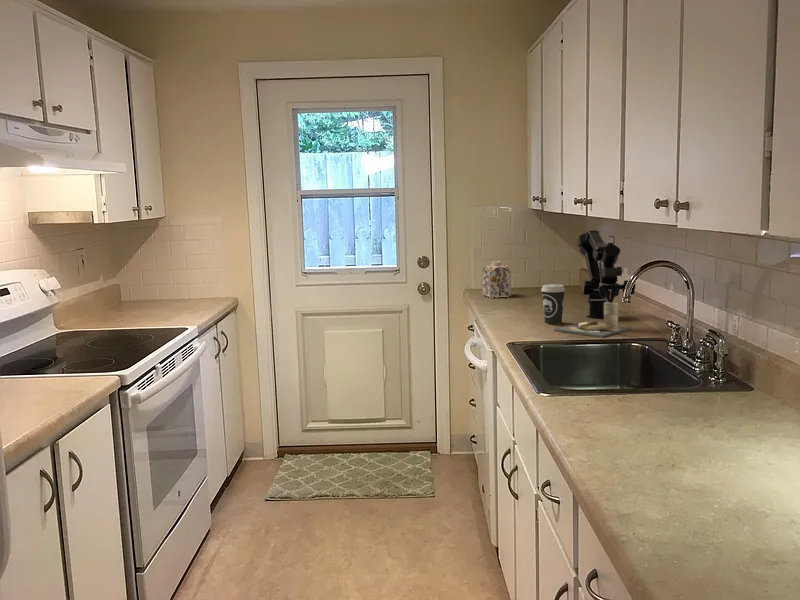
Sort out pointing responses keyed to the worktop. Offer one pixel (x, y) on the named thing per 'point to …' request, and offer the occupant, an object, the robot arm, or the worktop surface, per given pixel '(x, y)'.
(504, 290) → the decorative jar
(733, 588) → the worktop surface
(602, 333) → the board
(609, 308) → the beige boot
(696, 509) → the worktop surface
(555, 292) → the coffee cup
